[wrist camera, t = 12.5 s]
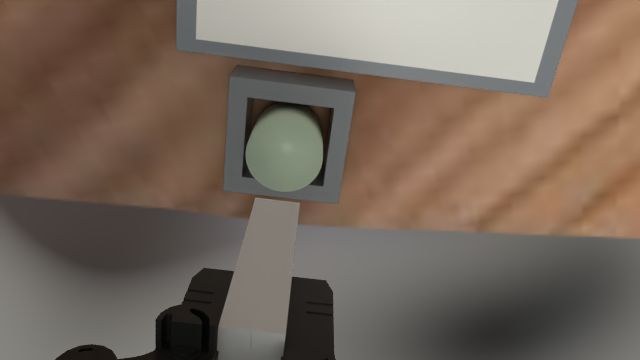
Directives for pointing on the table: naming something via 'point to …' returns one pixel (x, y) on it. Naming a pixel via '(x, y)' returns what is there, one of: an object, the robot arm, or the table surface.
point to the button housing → (293, 90)
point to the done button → (285, 147)
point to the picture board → (390, 37)
